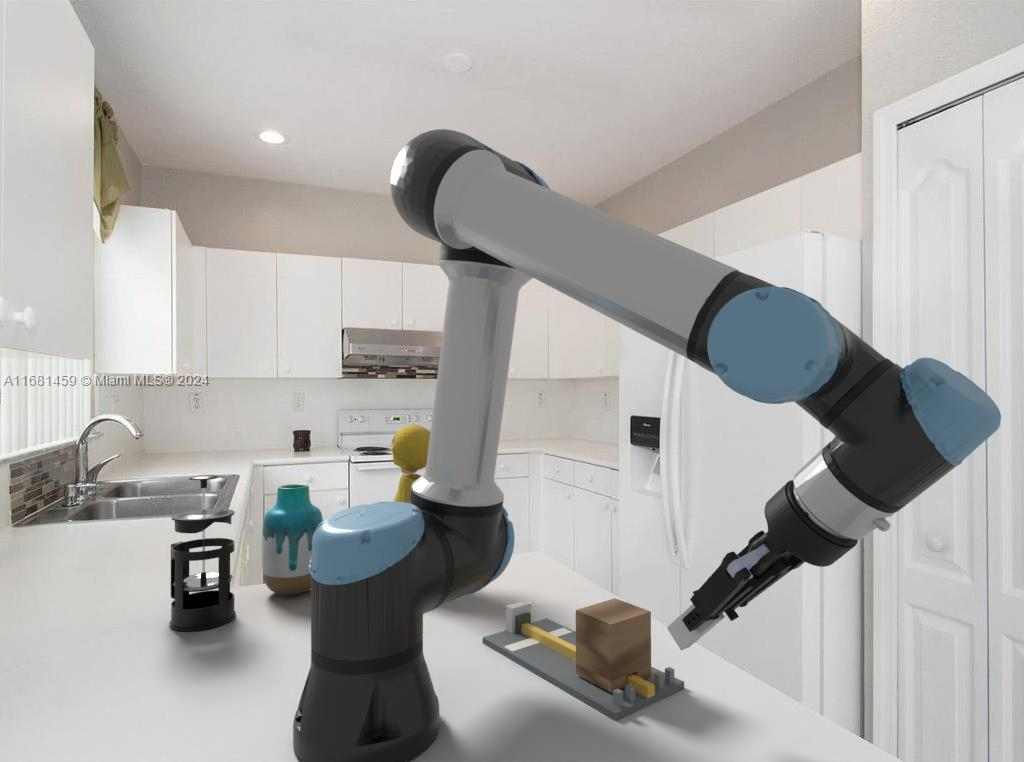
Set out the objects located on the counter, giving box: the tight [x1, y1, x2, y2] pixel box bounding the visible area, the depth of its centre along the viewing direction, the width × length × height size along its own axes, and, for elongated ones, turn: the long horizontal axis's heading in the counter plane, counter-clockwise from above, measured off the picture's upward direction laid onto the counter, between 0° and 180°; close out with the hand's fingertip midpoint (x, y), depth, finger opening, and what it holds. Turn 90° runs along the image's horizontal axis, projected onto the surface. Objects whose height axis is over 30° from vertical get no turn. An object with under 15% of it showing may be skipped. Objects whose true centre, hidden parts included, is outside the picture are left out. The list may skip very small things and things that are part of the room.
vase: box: [261, 483, 324, 596], centre depth 111 cm, size 11×11×19 cm
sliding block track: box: [482, 600, 685, 721], centre depth 81 cm, size 26×12×4 cm, turn 37°
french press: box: [169, 474, 237, 633], centre depth 97 cm, size 12×9×23 cm
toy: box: [390, 424, 431, 503], centre depth 115 cm, size 16×12×30 cm
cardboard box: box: [575, 597, 652, 693], centre depth 76 cm, size 6×7×8 cm
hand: (678, 637), depth 68 cm, fingers closed
